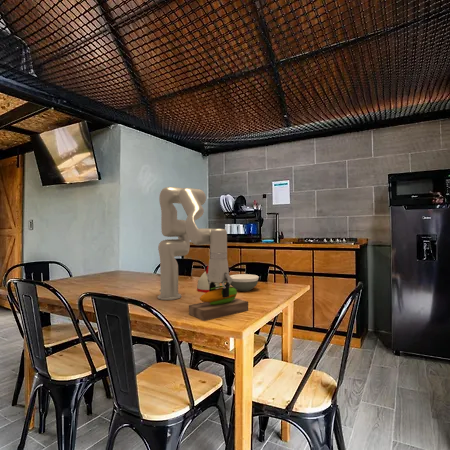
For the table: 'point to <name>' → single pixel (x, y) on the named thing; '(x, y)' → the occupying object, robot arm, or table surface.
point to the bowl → (244, 281)
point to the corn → (218, 296)
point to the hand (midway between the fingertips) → (219, 295)
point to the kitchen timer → (204, 283)
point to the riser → (217, 309)
